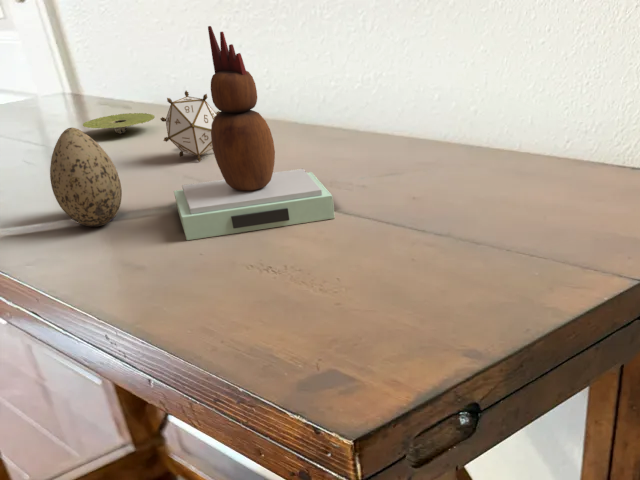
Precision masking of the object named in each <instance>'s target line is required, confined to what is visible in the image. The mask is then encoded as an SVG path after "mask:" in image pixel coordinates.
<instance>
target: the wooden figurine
mask: <svg viewBox="0 0 640 480" xmlns="http://www.w3.org/2000/svg"><path fill="white" fill-rule="evenodd" d="M207 30H208V31H207V32H208V38H209V44H210V50H211V58H212V65H213V70H214V74H213V75H212V76H211V80H210V95H211V100H212V103H213V105H214V107H215V108H216V109H217V110H218V111H219V112H220V113H218V114H217V115H216V116H215V117H214V120H213V122H212V127H211V139H212V147H213V149H212V151H213V155H214V158H215V161H216V164H217V167H218V169H219V171H220V173H221V175H222V178H223V179H225V181H226V183H227V184H228V185H229V186H230V187H231V188H233V189H236V190H240V191H254V190H258V189H260V188H263V187H265V186H266V185H267V184H268V183H269V182H270V181H271V178H272V174H273V173H274V168H275V160H276V149H275V143H274V138H273V135H272V131H271V128H270V127H269V125H268V122H267V121H266V120H265V118H264V117H263V116H262V115H261V114H260V112H257V111H256V110H252V109H254V108H255V107H256V106H257V102H258V90H257V85H256V82H255V80H254V77H253V75H252V74H251V73H250V71H248V70H246V67H245V66H246V65H245V62H244V60H243V57H242V54H241V52H238V53H236V51H235V47H234V44H233V43H231V44H229V45H228V43H227V40H226V37H225V33H224V31H220V32H219V41H220V42H219V43H220V46H219V43H218V40H217V38H216V35H215V33H214V30H213V28H212V26H211V25H208V26H207Z"/></svg>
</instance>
